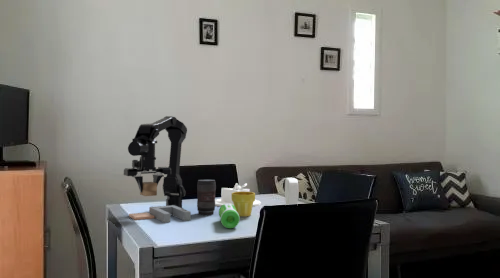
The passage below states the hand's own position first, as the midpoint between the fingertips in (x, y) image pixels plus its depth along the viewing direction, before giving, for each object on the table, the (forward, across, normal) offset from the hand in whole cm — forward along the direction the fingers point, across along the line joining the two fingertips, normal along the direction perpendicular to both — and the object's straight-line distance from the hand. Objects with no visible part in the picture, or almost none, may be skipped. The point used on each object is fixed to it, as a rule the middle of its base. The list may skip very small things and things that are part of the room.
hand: (147, 192), depth 189 cm
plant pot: (+11, -39, +13) cm, 42 cm away
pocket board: (+11, -8, +3) cm, 14 cm away
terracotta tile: (+11, +2, -3) cm, 11 cm away
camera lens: (+11, -26, +3) cm, 28 cm away
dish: (+12, -52, -16) cm, 56 cm away
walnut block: (+1, 0, +1) cm, 1 cm away
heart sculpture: (+11, -47, +36) cm, 60 cm away
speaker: (+11, -23, +27) cm, 37 cm away
